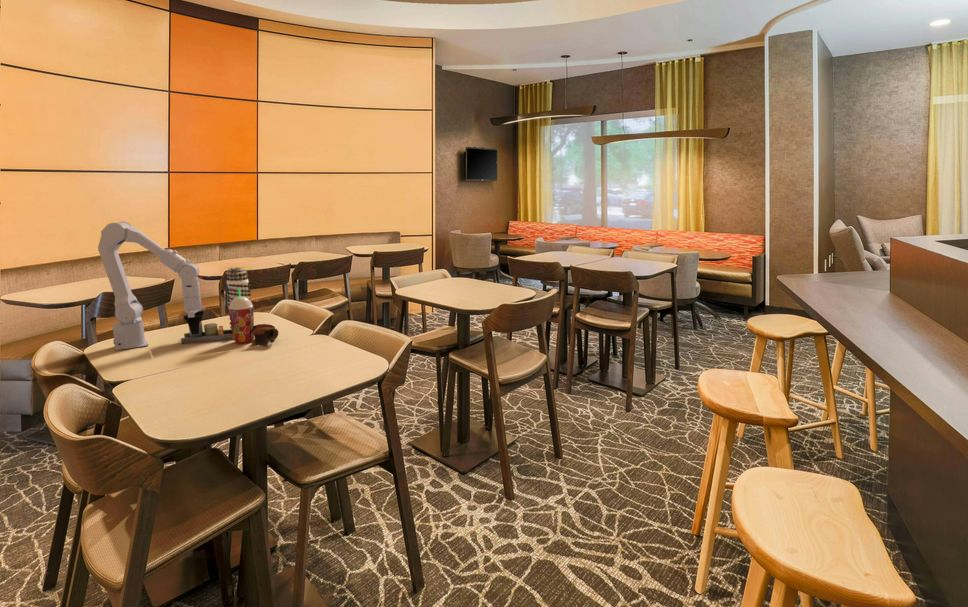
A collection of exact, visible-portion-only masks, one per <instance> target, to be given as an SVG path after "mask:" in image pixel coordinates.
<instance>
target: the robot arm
mask: <svg viewBox="0 0 968 607" xmlns="http://www.w3.org/2000/svg"><path fill="white" fill-rule="evenodd" d="M100 234H101V236H100V238H99V242H98V246H97V251H98V253H99V256H100V259H101V261H102V264H103V267H104V270H105V272H106V276H107V279H108V282H109V284H110V287H111V289H112V292H113V295H114V297H115V298H114V304H113V305H114V308H115V310H114V316H115V319H116V320H117V321H118V322H117V323H112V325H111V326H112V333H113V345H114V347H115V351H120V350H127V349H135V348H141V347H148V346H149V345H148V342H147V340H146V337H145V329H144V322H143V318H142V317H141V316H142V315H143V313H144V307H143V305H142V304H141V303H140V302H139V301H138V298H137V297H136V295H134V294H133V292H132V288H131V286H130V283H129V280H128V277H127V275H126V272H125V269H124V266H123V264H122V260H121V257H120V254H119V251H118V250H120V247H122V245H123V244H124V243H125V242H126V243H136V244H138V245H140V246H141V247H143V248H145V249H146V250H148V251H149V252H151V253H152V254H154V255H156V256H157V257H158V259H159V263H161V264H162V265H164V266H165V267H167V268H169V269H170V270H171V271H173V272H174V273H177V274H178V277H179V278H180V280H181V290H182V291H181V292H182V300H183V312H184V313H186V315H184V316H183V319H184V320H185V322H186V324H187V325H188V329H189V328H190V331H191V333H192V334H198V333H199V323H200V322H202V318H203V315H204V313H205V310H206V309H207V308H206V306H203V304H202V294H201V285H200V280H199V274H200V268H199V266H198V265H197V264H196V263H195V262H191V260H190V259H186V258H184V257H183V256H181V254H178V253H179V252H178V251H177V250H176V249H174V250H173V249H170V248H168V249H165V248H164V247H162V246H161V245H160V244H159V243H157V242H155V240H153V239H152V238H151V237H149V236H148V235H147V234H145V233H144V232H143V231H141V230H140V229H139V228H137V227H135V226H132V225H131V224H130V223H129V222H127V221H119V222H110V223H108V224H106V225H105V227H103V229H102V230H101V231H100Z"/></svg>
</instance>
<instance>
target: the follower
mask: <svg viewBox="0 0 968 607" xmlns="http://www.w3.org/2000/svg"><path fill="white" fill-rule="evenodd" d="M217 328H218V335H223V334H224V332H223V330H224V326H223V325H219V326H218V327H217Z"/></svg>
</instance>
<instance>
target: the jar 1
mask: <svg viewBox="0 0 968 607" xmlns="http://www.w3.org/2000/svg"><path fill="white" fill-rule="evenodd" d="M188 330H189V332H188V333H190V337H200V336H203V332H204V327H203V322H202V321H201V322H200V323H199V333H198V334H192V333H191V331H190V328H189V327H188Z"/></svg>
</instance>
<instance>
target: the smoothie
mask: <svg viewBox="0 0 968 607" xmlns="http://www.w3.org/2000/svg"><path fill="white" fill-rule="evenodd" d="M238 292H239V297H236V298H234V299H233V300H232V301H231V303H230V304H229V305H228V307H227V308H228V313H229V314H228V316H229V315H230V316H229V320H230V322H231V325H230V326H232V332H233V338H234V339H233V341H234V342H235V344H237V345H244V344H245V345H247V344H252V343H251V341H252V340H254V339H255V336H254V333H253V332H252V333H251V331H252V330H253V329H254V328H253V327H254V326H255V320H254V317H255V316H254V315H255V314H254V304H253V303H252V300H251V301H250V300H249V299H248V298H246V297H242V296H241V292H240V289H238Z"/></svg>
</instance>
